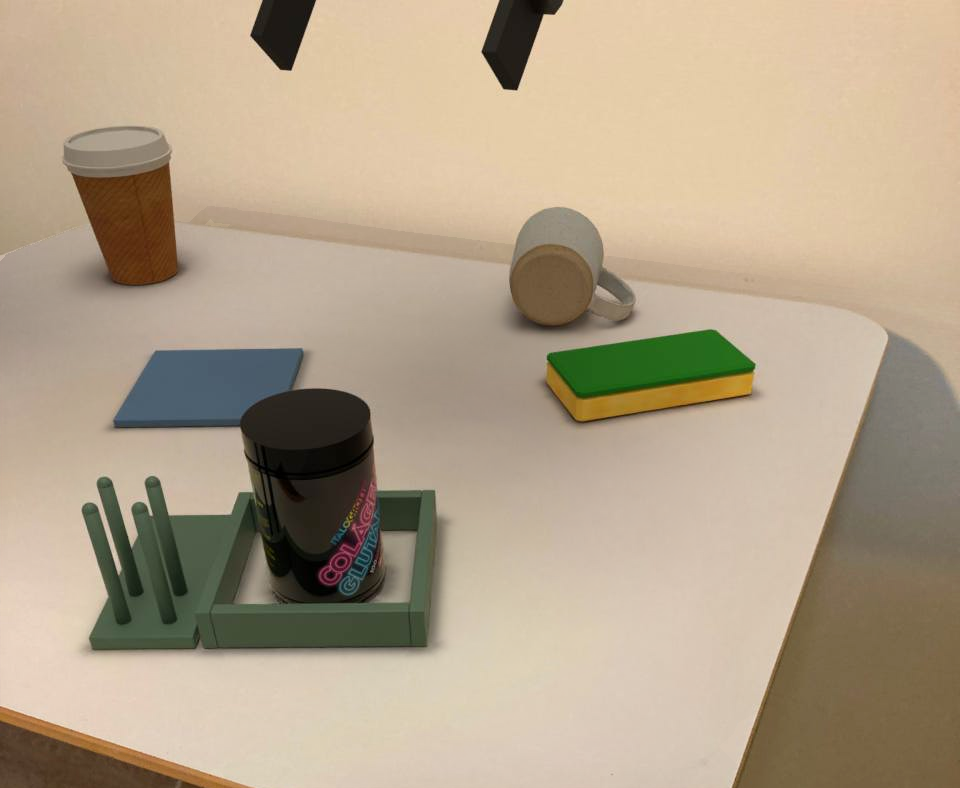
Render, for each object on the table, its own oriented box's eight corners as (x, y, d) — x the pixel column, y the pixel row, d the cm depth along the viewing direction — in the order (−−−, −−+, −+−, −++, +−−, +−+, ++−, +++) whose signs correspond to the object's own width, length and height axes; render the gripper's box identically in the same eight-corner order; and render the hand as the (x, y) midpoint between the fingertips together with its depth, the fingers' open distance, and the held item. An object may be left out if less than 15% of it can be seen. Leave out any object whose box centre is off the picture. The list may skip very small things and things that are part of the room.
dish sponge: (753, 395, 77) (758, 364, 75) (577, 424, 74) (578, 392, 72) (710, 356, 82) (714, 327, 80) (544, 382, 79) (545, 351, 78)
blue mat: (114, 427, 75) (112, 420, 75) (156, 357, 84) (155, 350, 84) (279, 425, 75) (278, 417, 74) (303, 354, 84) (302, 347, 84)
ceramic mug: (505, 329, 87) (507, 236, 82) (515, 292, 93) (516, 203, 88) (633, 335, 86) (642, 241, 81) (634, 297, 92) (642, 207, 87)
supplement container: (304, 632, 56) (276, 463, 50) (249, 574, 61) (217, 412, 54) (409, 587, 59) (396, 422, 53) (349, 535, 64) (330, 376, 57)
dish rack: (91, 649, 56) (48, 520, 50) (149, 525, 65) (117, 406, 60) (426, 646, 55) (417, 516, 50) (437, 522, 64) (430, 401, 59)
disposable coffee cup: (104, 258, 103) (71, 126, 95) (201, 253, 103) (176, 121, 95) (83, 294, 95) (45, 154, 88) (187, 289, 96) (159, 150, 88)
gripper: (781, -293, 49) (633, 131, 49) (354, -259, 59) (231, 90, 59) (758, -470, 42) (586, 22, 42) (280, -396, 53) (141, -2, 52)
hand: (378, 63), depth 51 cm, fingers open, 13 cm apart
